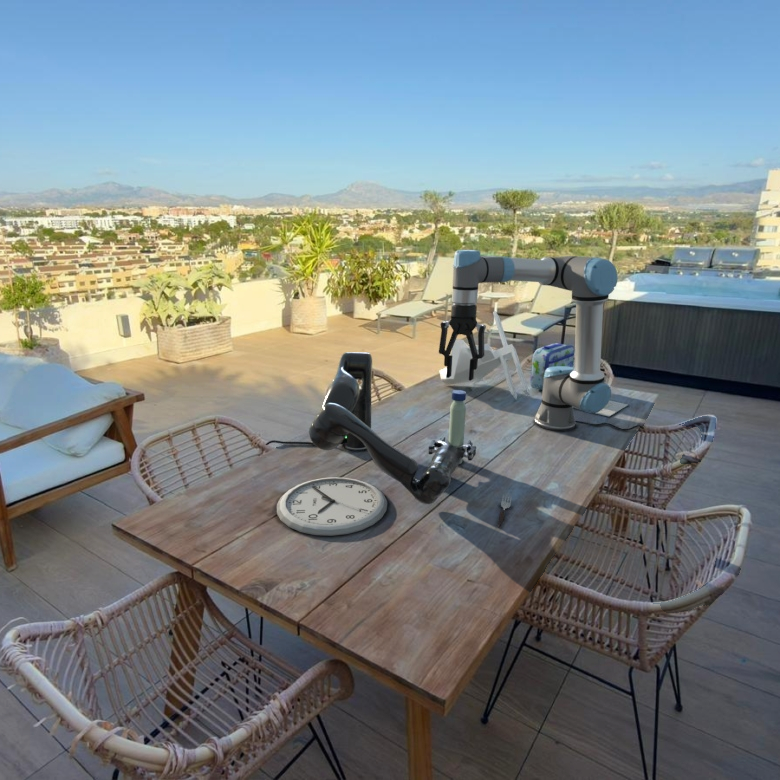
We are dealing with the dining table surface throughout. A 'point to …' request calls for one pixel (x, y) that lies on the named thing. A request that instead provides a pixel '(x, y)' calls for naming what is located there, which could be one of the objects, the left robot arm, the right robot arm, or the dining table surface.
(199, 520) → the dining table surface
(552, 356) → the lunch box
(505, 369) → the white plastic object
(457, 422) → the bottle
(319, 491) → the wall clock
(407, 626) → the dining table surface
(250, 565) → the dining table surface
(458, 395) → the cap
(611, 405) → the invitation card
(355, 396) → the left robot arm
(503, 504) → the fork
